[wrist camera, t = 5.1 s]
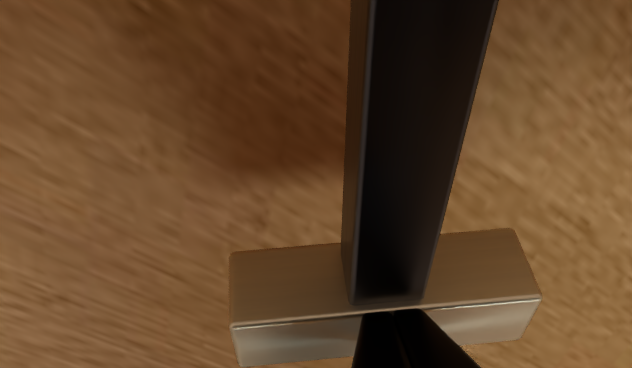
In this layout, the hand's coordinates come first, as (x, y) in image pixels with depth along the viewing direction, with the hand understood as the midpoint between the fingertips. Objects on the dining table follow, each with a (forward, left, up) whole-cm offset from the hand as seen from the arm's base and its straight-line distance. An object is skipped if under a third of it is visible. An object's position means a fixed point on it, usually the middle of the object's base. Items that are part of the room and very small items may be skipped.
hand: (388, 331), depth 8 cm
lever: (-2, +8, 0) cm, 8 cm away
